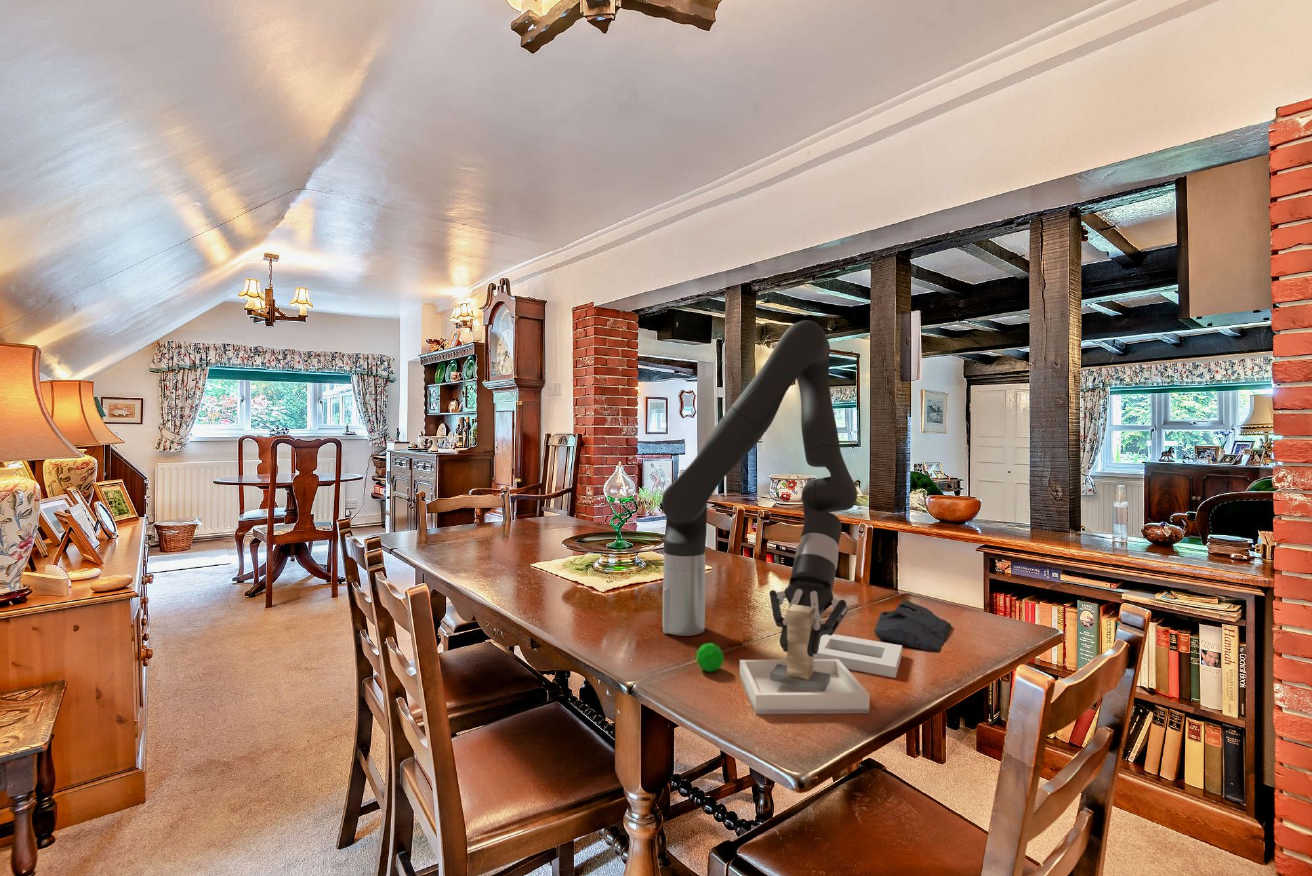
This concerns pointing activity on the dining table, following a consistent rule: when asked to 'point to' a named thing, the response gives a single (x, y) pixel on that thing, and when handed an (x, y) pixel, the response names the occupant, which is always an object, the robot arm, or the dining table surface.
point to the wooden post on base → (799, 653)
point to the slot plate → (861, 646)
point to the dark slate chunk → (913, 627)
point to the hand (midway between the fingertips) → (797, 651)
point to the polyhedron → (709, 657)
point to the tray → (803, 690)
